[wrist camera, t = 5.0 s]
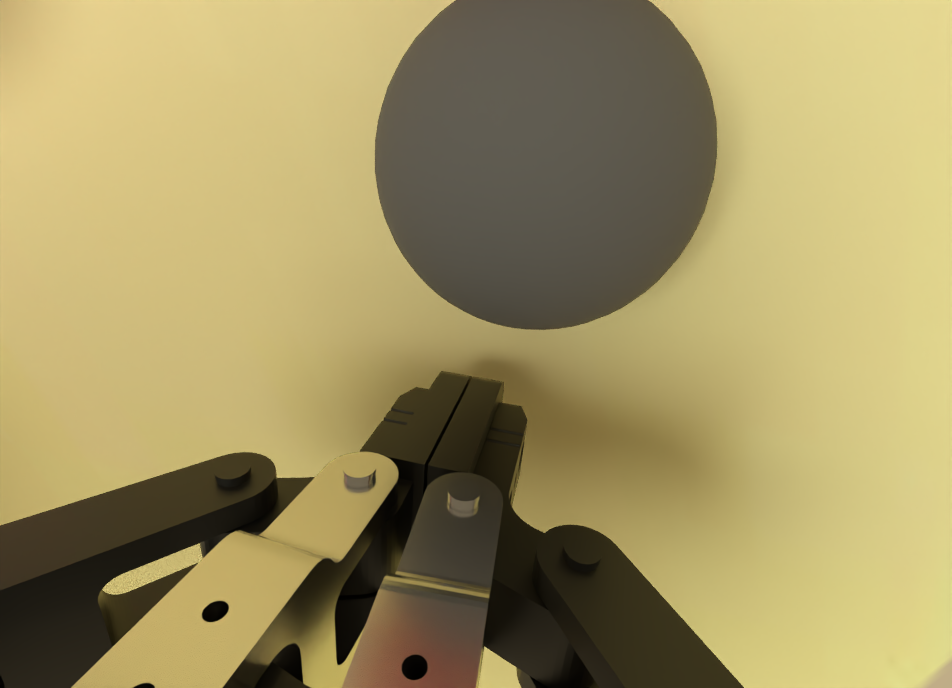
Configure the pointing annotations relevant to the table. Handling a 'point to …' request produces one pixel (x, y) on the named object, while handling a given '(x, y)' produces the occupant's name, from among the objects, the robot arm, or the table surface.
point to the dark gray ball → (545, 156)
